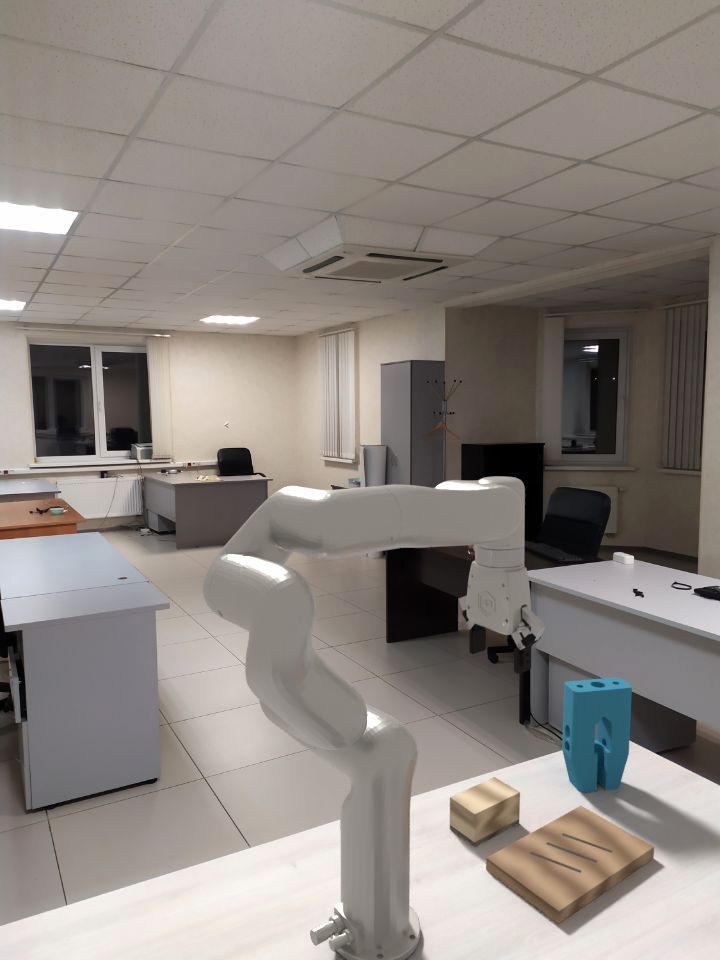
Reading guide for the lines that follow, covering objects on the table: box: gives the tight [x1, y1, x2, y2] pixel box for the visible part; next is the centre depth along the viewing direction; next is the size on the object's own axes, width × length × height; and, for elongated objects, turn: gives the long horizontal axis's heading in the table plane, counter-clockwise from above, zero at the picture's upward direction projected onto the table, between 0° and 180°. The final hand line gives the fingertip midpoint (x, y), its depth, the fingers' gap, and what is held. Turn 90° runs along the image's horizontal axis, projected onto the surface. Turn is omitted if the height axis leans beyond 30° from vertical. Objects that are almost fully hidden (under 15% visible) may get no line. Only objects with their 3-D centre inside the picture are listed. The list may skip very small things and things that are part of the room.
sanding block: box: [449, 776, 521, 848], centre depth 118 cm, size 11×6×6 cm, turn 126°
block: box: [561, 676, 633, 793], centre depth 131 cm, size 12×5×20 cm, turn 101°
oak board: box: [485, 805, 655, 925], centre depth 109 cm, size 24×14×2 cm, turn 126°
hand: (499, 661), depth 108 cm, fingers open, 9 cm apart
